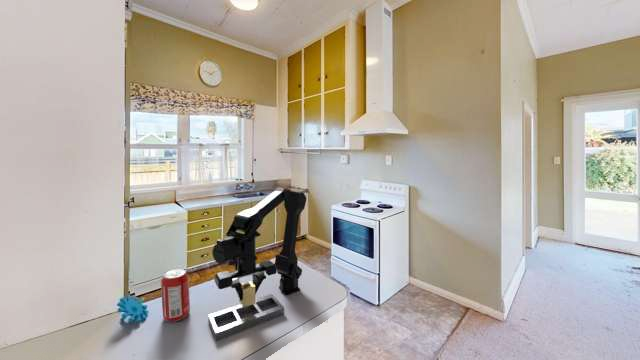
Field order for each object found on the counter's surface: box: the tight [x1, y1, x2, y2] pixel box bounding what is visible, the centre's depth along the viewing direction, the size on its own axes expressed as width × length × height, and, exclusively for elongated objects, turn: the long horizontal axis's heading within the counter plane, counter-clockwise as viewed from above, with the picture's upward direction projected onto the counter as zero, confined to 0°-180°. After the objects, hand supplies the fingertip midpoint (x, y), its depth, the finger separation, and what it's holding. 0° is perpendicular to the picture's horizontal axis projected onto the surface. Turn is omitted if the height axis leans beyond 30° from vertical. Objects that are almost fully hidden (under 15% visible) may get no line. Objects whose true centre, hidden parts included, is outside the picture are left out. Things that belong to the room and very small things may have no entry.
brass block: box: [238, 280, 256, 308], centre depth 83 cm, size 4×4×6 cm
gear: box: [116, 295, 149, 323], centre depth 83 cm, size 11×6×10 cm
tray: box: [208, 293, 285, 342], centre depth 84 cm, size 22×10×2 cm, turn 125°
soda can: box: [160, 268, 191, 322], centre depth 84 cm, size 8×8×15 cm
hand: (247, 298), depth 83 cm, fingers closed on brass block, 4 cm apart
